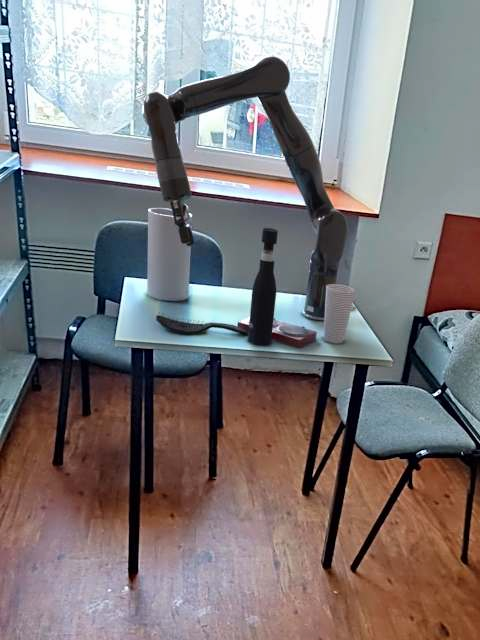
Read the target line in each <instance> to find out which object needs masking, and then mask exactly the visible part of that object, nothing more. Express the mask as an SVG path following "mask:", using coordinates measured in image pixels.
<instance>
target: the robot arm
mask: <svg viewBox="0 0 480 640" xmlns="http://www.w3.org/2000/svg"><path fill="white" fill-rule="evenodd" d="M290 80H291V73H290V69H289V67H288V66H287V64H286V63H285V61H283V60H282V59H281V58H279V57H277V56H274V55H266V56H260V57H257V58H255V59H254V60H253V61H252V62H251V63H250V66H249V67H248V68H246V69H243V70H241V71H238V72H235V73H231V74H227V75H223V76H219V77H218V76H217V77H214V78H213V77H211V78H208V79H204V80H200V81H196V82H193V83H190V84H186V85H182V86H181V87H179V88H177V89H176V90H175V92H173V93H170V94H168V95H165V94H164V93H162V92H159V91H152V92H150V93H148V94H147V95H146V96H145V98H144V100H143V105H142V109H141V111H142V112H141V114H142V118H143V120H144V122H145V124H146V125H147V126H148V130H149V135H150V139H151V140H150V145H151V150H152V154H153V159H154V164H155V171H156V176H157V180H158V184H159V185H158V186H159V188H160V192H161V197H162V200H163V201H164V202H167V203H169V205H170V206H171V207H170V209H172V212H173V217H174V221H175V222H174V223H175V225H176V227H177V229H178V230H179V235H180V239H181V243H183V244H186V245H187V246H191V247H192V246H194V245H195V238H194V234H193V227H194V226H193V224H192V223H193V222H192V223H191V218H190V214H191V213H190V209H189V206H188V205H187V204H186V203H185V200H188V199H191V198H192V190H191V186H190V181H189V177H188V173H187V169H186V165H185V163H184V160H183V159H184V158H183V156H182V151H181V146H180V143H179V140H178V135H177V127H176V126H177V124H179V123H180V122H182V121H185V120H186V119H188V118H193V117H197V116H199V115H202V114H206V113H209V112H212V111H214V110H218V109H220V108H223V107H226V106H229V105H231V104H235V103H238V102H241V101H246V100H250V99H254V98H257V100H258V101H259V103H260V104H261V107H262V109H263V110H264V113H265V114H266V117H267V118H268V121H269V123H270V126H271V128H272V131H273V134H274V136H275V139H276V141H277V142H276V143H277V144H278V147H279V149H280V152H281V154H282V156H283V159H284V161H285V164H286V165H287V168H288V170H289V173H290V174H291V177H292V179H293V181H294V183H295V185H296V187H297V189H298V191H299V193H300V194H301V197H302V199H303V201H304V204H305V207H306V211H307V214H308V216H309V220H310V223H311V227H312V229H313V231H314V232H315V234H316V235H317V237H316V243H315V247H314V249H313V250H312V251H311V253H310V261H309V267H308V276H307V282H306V291H305V297H304V308H303V316H304V317H305V318H307V319H309V320H314V321H320V322H324V318H325V301H326V285H328V284H338V280H339V279H338V277H339V271H340V266H341V265H340V264H341V260H342V258H343V256H344V253H345V248H346V244H347V243H346V242H347V237H348V231H349V230H348V229H349V227H348V226H349V225H348V224H349V223H348V219H347V217H346V216H345V215H344V214H343V213H342V212H341V211H339V210H338V209H336V208H335V206H334V205H333V203H332V201H331V198H330V197H329V195H328V193H327V190H326V187H325V184H324V177H323V170H322V165H321V160H320V157H319V154H318V152H317V149H316V147H315V145H314V142H313V140H312V138H311V136H310V134H309V132H308V131H307V129H306V127H305V126H304V124H303V123H302V121H301V120H300V119H299V117H298V116H297V114H296V113H295V111H294V109H293V107H292V106H291V103H290V101H289V98H288V95H287V92H286V91H287V89H288V87H289V85H290V82H291V81H290ZM189 213H190V214H189ZM187 224H188V225H187Z"/></svg>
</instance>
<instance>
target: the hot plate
mask: <svg viewBox="0 0 480 640" xmlns="http://www.w3.org/2000/svg"><path fill="white" fill-rule="evenodd" d="M249 322H250V316H249V317H247V318H244V319H242V320H238V321H237V327H240V328H242V329H244V330H246V331H248V333H249ZM317 333H318V331H315V330H313V329H308V328H306V327H305V326H299V325H295V324H291V323H289V322H285V321H281V320H277V319H276V318H274V319H273V329H272V338H271V341H274V342H278V343H281V344H285V345H288V346H291V347H294V348H301V347H303V346H305V345H307V344H309V343H312V342H313V341H315V340H316V339H317Z"/></svg>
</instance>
